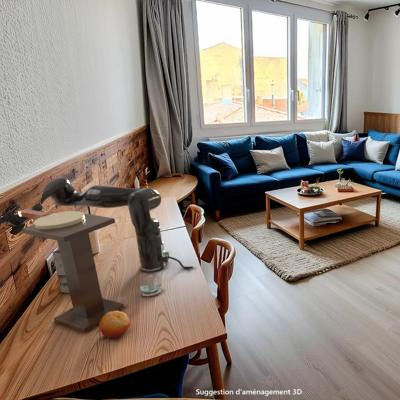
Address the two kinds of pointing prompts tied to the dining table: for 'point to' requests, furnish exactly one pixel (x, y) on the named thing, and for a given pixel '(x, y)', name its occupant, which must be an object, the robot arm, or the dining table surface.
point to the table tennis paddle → (53, 218)
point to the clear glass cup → (150, 287)
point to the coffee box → (60, 271)
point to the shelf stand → (80, 272)
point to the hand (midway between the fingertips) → (26, 209)
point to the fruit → (114, 324)
